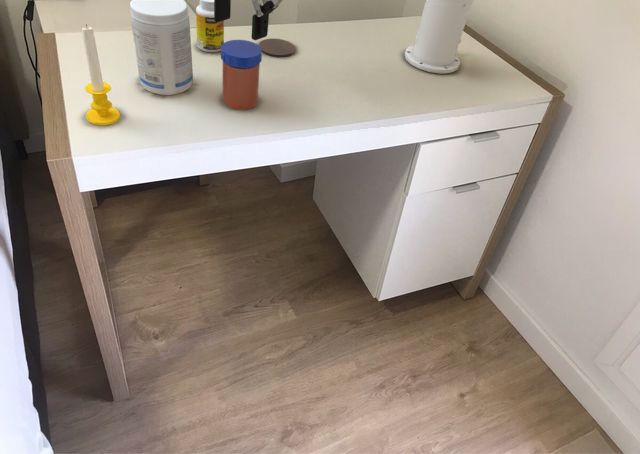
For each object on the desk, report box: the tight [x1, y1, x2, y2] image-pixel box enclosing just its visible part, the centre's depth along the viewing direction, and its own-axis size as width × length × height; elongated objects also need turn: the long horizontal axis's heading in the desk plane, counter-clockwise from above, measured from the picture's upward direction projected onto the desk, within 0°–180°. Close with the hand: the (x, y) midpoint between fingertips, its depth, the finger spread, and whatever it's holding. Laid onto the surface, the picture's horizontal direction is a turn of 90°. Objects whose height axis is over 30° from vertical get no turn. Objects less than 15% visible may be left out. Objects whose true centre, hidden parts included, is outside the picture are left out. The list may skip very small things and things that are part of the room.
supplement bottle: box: [195, 0, 225, 53], centre depth 105 cm, size 6×6×10 cm
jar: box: [222, 61, 261, 111], centre depth 91 cm, size 6×6×10 cm
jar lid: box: [220, 39, 263, 68], centre depth 88 cm, size 7×7×2 cm
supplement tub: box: [129, 0, 194, 96], centre depth 90 cm, size 10×10×15 cm
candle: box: [81, 24, 121, 126], centre depth 80 cm, size 5×5×16 cm
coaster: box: [258, 38, 296, 58], centre depth 112 cm, size 8×8×1 cm
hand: (240, 28), depth 85 cm, fingers open, 7 cm apart
